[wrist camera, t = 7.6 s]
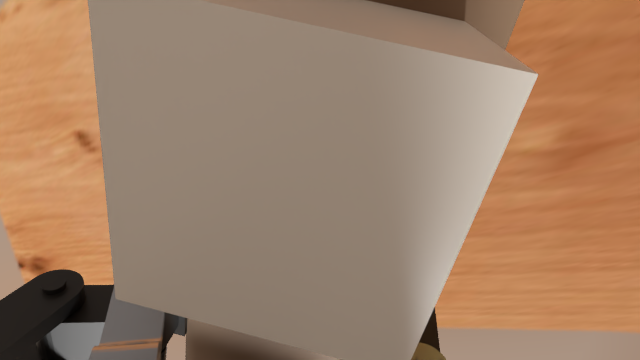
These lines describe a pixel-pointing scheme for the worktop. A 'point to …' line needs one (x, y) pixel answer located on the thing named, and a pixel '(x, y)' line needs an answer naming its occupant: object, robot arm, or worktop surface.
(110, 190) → the white crate
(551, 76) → the worktop surface
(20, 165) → the worktop surface
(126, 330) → the robot arm
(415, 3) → the pallet
